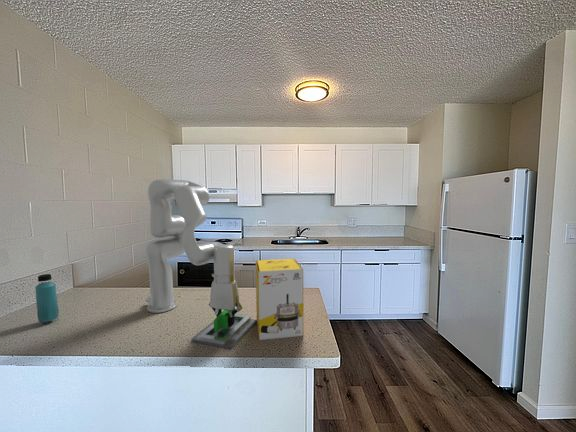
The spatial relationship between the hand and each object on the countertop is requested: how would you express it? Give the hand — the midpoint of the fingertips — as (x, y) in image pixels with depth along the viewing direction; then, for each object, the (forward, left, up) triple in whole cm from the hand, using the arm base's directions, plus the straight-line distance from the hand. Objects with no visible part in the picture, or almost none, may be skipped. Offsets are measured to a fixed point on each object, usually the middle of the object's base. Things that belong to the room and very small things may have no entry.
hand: (225, 324), depth 101 cm
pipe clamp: (0, 0, -1) cm, 1 cm away
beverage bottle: (-74, -16, -3) cm, 76 cm away
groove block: (0, 0, -3) cm, 3 cm away
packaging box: (+18, +9, -3) cm, 20 cm away
